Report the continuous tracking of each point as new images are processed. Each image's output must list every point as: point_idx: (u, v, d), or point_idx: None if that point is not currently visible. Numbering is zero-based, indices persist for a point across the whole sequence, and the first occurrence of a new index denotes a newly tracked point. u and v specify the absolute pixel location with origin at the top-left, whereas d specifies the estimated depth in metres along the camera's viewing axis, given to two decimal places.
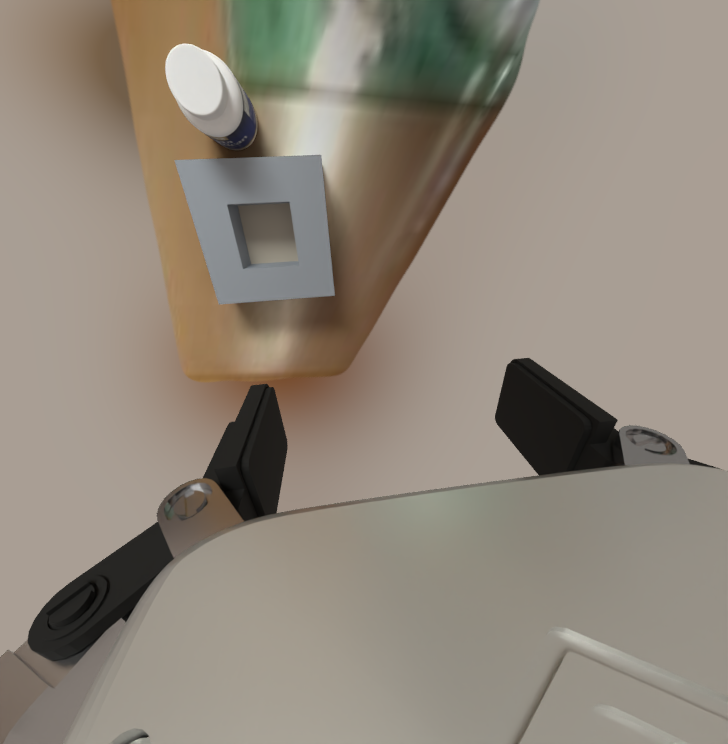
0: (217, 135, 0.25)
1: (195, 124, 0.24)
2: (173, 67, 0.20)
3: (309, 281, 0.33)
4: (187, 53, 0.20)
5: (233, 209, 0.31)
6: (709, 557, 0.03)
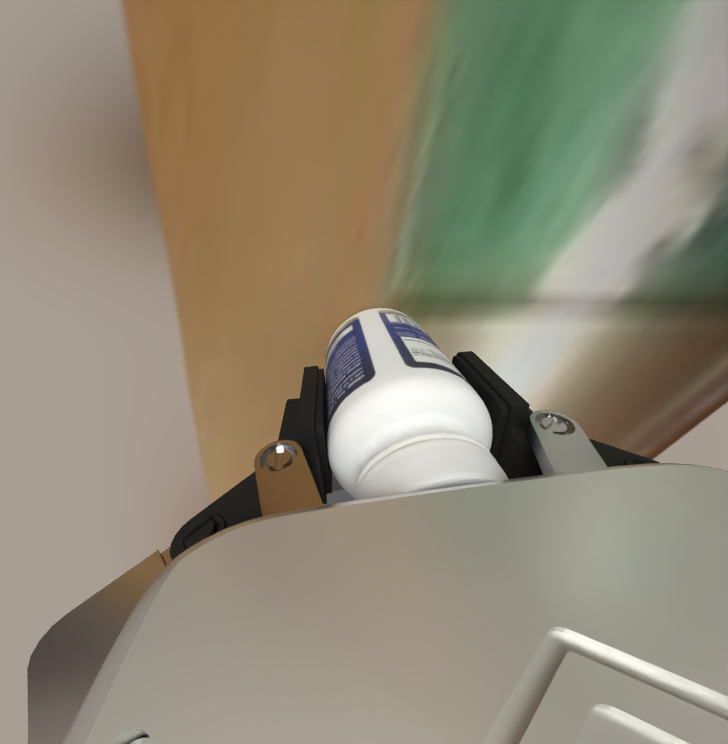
0: None
1: None
2: None
3: None
4: None
5: None
6: (709, 557, 0.03)
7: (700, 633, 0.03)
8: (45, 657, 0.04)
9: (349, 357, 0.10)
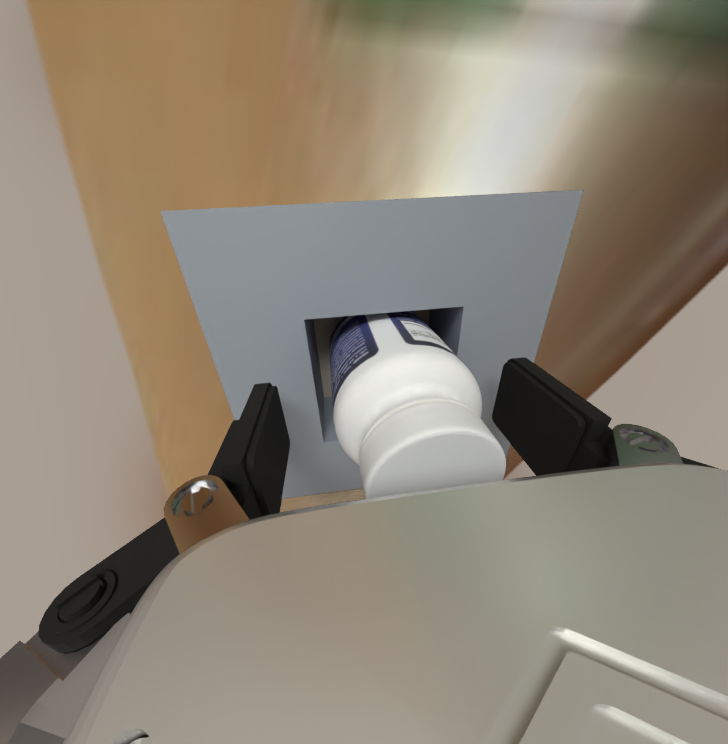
0: None
1: None
2: (394, 473, 0.07)
3: None
4: (443, 446, 0.07)
5: None
6: (709, 557, 0.03)
7: (700, 633, 0.03)
8: None
9: (353, 339, 0.11)
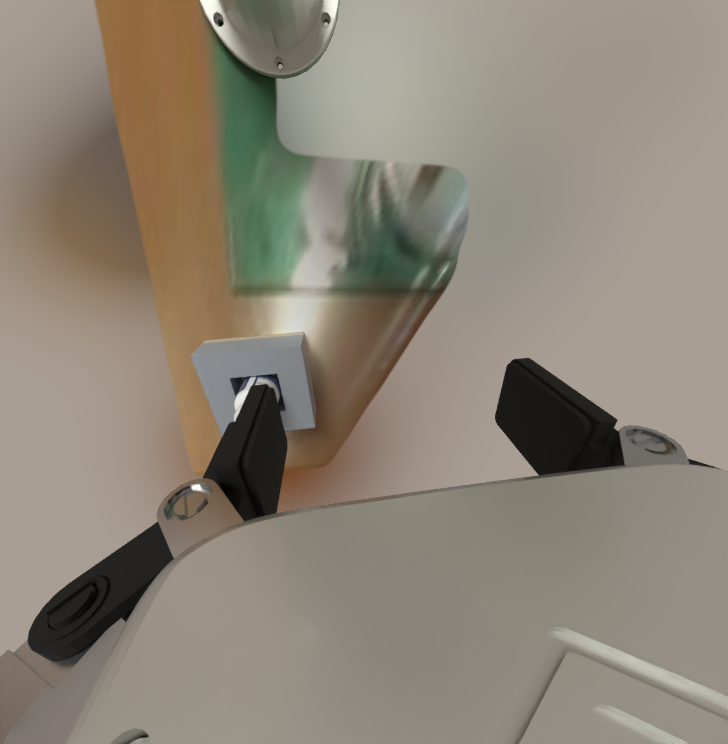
0: None
1: None
2: None
3: (294, 420, 0.42)
4: None
5: None
6: (709, 557, 0.03)
7: (700, 633, 0.03)
8: None
9: (244, 383, 0.38)
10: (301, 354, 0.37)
